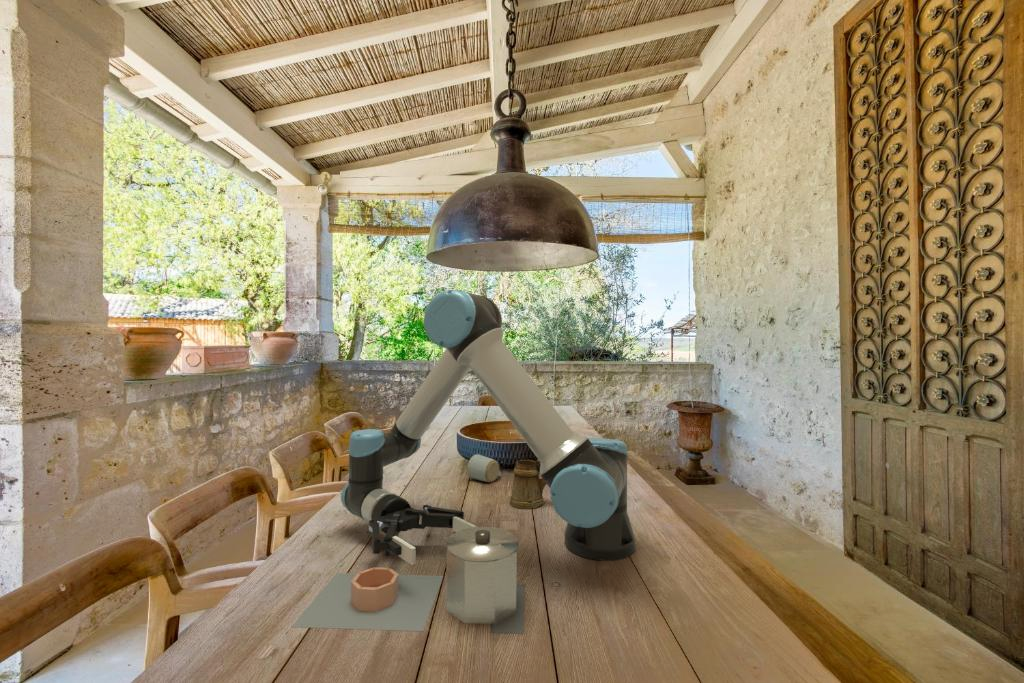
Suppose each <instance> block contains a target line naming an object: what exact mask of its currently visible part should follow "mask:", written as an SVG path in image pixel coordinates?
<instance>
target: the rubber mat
mask: <svg viewBox="0 0 1024 683" xmlns="http://www.w3.org/2000/svg"><path fill="white" fill-rule="evenodd" d="M525 595H526V583H516V614H515V615H514V616H512V617H510V618H508V619H507V620H505V621H503V622H502V623H500V624H498V625H497V626H495V627H491V626H490V631H489V633H490V634H508V635H509V634H511V635H524V634H525V633H524V632H525V605H526V604H525V602H526V598H525V597H526V596H525Z"/></svg>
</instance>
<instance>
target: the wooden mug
mask: <svg viewBox="0 0 1024 683" xmlns="http://www.w3.org/2000/svg"><path fill="white" fill-rule="evenodd" d="M540 466H541V464H540V461H539V459H536V461H535V460H532V459H520V460H516V461H515V466H514V467H513V468H514V469H513V474H514V475H513V481H512V491H511V495H510V497H509V498H510V499H509V505H510V506H512V507H513V508H516V509H520V508H521V509H520V510H531V509H537V508H539V506H540V507H541V506H542V505H543V504H544V502H545V501H544V497H543V496H544V495H543V490H544V489H545V487H546V485H547V483H546V482H545V481H544V479H543V478H542V477H541V478H540ZM522 508H523V509H522Z"/></svg>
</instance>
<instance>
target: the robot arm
mask: <svg viewBox="0 0 1024 683" xmlns="http://www.w3.org/2000/svg"><path fill="white" fill-rule="evenodd" d="M502 317H503V316H502V314H501V311H500V308H499V306H498V305H497V304H496V303H495V302H494V301H493V300H492V299H491V298H488V297H487V296H484V295H480V294H474V293H471V292H467V291H465V290H462V289H447V290H443V291H440V292H438V293H437V294H435V295H434V296H433V297H432V298H431V300H430V301H429V302H428V303H427V306H426V308H425V310H424V318H423V327H424V331H425V334H426V335H427V336H426V337H428V339H429V340H430V341H431V342H432V343H433V344H434V345H437V346H438V347H441V348H445V349H444V352H443V353H442V355H441V356H440V358H439V359H438V360H437V362H436V363H435V364H434V366H433V368H432V369H431V370H430V371H429V373H428V375H427V376H426V378H425V379H424V380H423V382H422V384H421V385H420V386H419V388H418V389H417V391H416V392H415V393H414V395H413V396H412V398H411V399H410V401H409V402H408V404H407V405H406V407H405V408H404V410H403V411H402V413H401V414H400V415H399V417H398V418H397V420H396V421H395V423H394V424H393V425H392V427H391V428H390V430H388V431H387V432H385V433H384V432H383V431H382V430H381V429H376V428H375V429H373V428H368V429H359V430H355V431H353V432H352V433H351V434H350V436H349V444H348V445H349V447H348V481H347V483H346V484H345V485H344V486H343V488H342V491H341V492H340V501H341V503H342V504H341V505H342V506H343V507H344V508H345V509H346V510H347V511H349V513H350V514H352V515H354V516H357V517H358V518H360V519H362V520H363V521H365V522H367V523H368V534H369V536H370V537H371V538H372V554H373V555H379V554H380V553H381V551H383V557H390V556H391V555H393V556H395V557H399V558H400V559H402V560H403V561H404V562H406V563H408V564H409V565H411V566H414V565H416V563H417V562H416V560H417V558H416V556H417V554H416V553H417V550H416V549H417V548H416V547H415V546H414V545H412V544H410V543H409V542H407V541H405V540H403V539H402V538H400V537H399V535H400V533H401V532H407V531H409V530H413V529H416V530H425V528H439V529H440V528H444V529H452V532H454V533H456V532H458V531H461V530H464V529H468V528H473V527H478V526H477V525H475V524H474V523H471V522H469V521H468V520H465V512H464V511H461V510H457V509H448V508H443V507H437V506H431V505H428V504H423V505H422V509H416V508H414V507H413V508H412V507H411V505H410V503H409V501H407V499H405V498H403V497H401V496H400V495H397V494H396V493H394V492H391V491H389V490H387V489H385V488H383V484H384V482H383V481H384V468H385V467H387V466H388V465H390V464H394V463H396V462H399V461H401V460H404V459H407V458H409V457H411V456H413V455H414V454H416V453H417V452H418V451H419V449H420V448H421V445H422V444H421V442H422V437H423V436H424V434H425V432H426V431H427V429H429V427H430V426H431V424H432V423H433V421H434V420H435V419H436V417H437V415H439V413H440V412H441V410H442V409H443V407H444V406H445V405H446V403H447V402H448V401H449V399H450V397H451V396H452V395H453V394H454V392H455V391H456V389H457V388H458V387H459V386H460V383H461V382H462V381H463V379H464V378H465V377H466V376H467V374H468V373H469V371H470V370H472V372H473V373H474V374H475V377H477V378H478V381H480V383H481V384H482V385H483V387H484V388H485V390H486V391H487V392H488V393H489V395H490V396H491V397H492V399H493V400H494V402H495V403H496V404H497V406H498V407H499V408H500V409H501V411H502V412H503V414H504V415H505V416H506V418H507V419H508V420H509V422H510V423H511V424H512V426H513V427H514V428H515V430H516V431H517V432H518V434H519V435H520V436H521V438H522V439H523V441H524V442H525V443H526V444H527V446H528V447H529V448H530V450H531V451H532V453H533V454H534V455H535V457H536V458H537V460H539V461H540V464H541V466H540V474H539V476H541V479H542V478H543V479H544V481H545V482H546V483H547V484H546V485H547V487H549V489H550V492H549V493H550V501H551V505H552V506H553V509H554V511H555V512H556V514H557V515H558V516H559V518H561V519H562V520H563V521H565V522H566V526H565V529H564V530H565V531H564V545H565V547H566V548H567V549H568V550H569V551H571V552H572V553H574V554H576V555H578V556H580V557H583V558H586V559H590V560H596V561H597V560H598V561H616V560H617V561H618V560H622V559H625V558H627V557H630V556H632V555H633V554H634V552H635V551H636V537H635V536H636V535H635V533H634V529H633V526H632V523H631V520H630V517H629V513H628V458H629V454H628V445H627V444H626V442H624V441H622V440H618V439H612V438H611V439H610V438H600V437H587V436H582V435H577V434H575V432H574V431H573V430H572V429H571V427H570V426H569V424H567V422H566V421H565V419H564V418H563V416H561V415H560V413H559V412H558V411H557V409H556V408H555V407H554V406H553V404H552V402H551V401H550V400H549V399H548V398H547V397H546V395H545V394H544V393H543V391H542V390H541V389H540V387H539V386H538V385H537V384H536V382H535V381H534V380H533V378H532V377H531V376H530V374H529V373H528V372H527V371H526V369H524V367H523V366H522V365H521V363H520V362H519V361H518V359H517V358H516V357H515V355H514V354H513V353H512V352H511V350H510V349H509V347H507V345H506V344H505V343H504V341H503V335H504V330H503V327H502V325H503V318H502ZM420 517H421V523H420ZM381 532H382V533H384V534H385V536H384V537H383V539H381Z"/></svg>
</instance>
